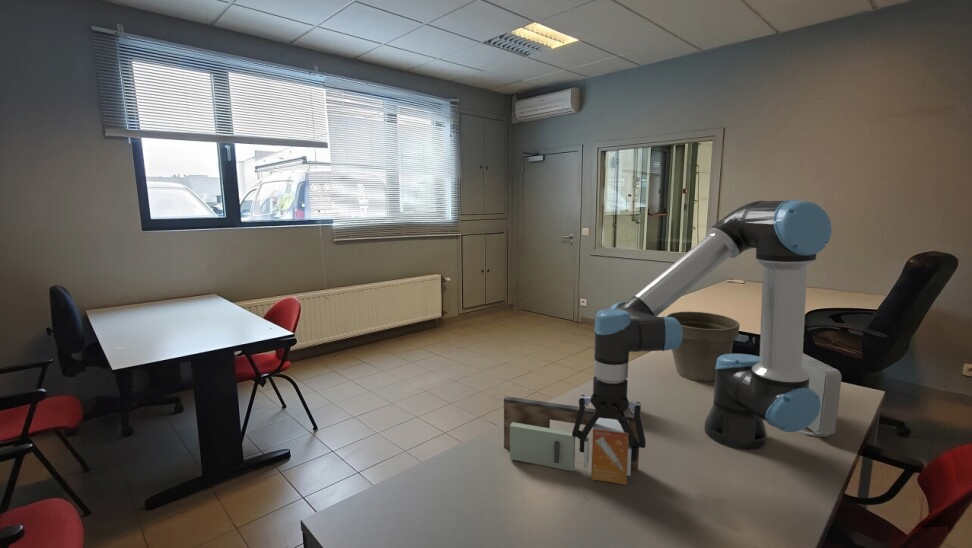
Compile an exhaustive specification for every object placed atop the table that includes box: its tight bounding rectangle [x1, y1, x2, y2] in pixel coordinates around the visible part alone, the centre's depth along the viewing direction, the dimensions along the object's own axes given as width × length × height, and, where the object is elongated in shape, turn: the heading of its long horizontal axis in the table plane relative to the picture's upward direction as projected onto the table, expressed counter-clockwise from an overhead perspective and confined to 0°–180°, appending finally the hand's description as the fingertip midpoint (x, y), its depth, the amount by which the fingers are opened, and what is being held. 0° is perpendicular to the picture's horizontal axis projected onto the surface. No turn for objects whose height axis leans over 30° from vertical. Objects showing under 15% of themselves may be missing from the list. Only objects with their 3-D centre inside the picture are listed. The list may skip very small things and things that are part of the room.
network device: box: [796, 352, 843, 437], centre depth 132 cm, size 26×9×20 cm, turn 178°
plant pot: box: [665, 311, 740, 382], centre depth 168 cm, size 25×25×22 cm
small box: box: [591, 418, 629, 486], centre depth 106 cm, size 8×6×13 cm
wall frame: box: [503, 396, 640, 473], centre depth 113 cm, size 34×2×14 cm, turn 70°
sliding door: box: [509, 422, 576, 472], centre depth 110 cm, size 16×3×9 cm, turn 70°
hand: (607, 468), depth 105 cm, fingers open, 9 cm apart
